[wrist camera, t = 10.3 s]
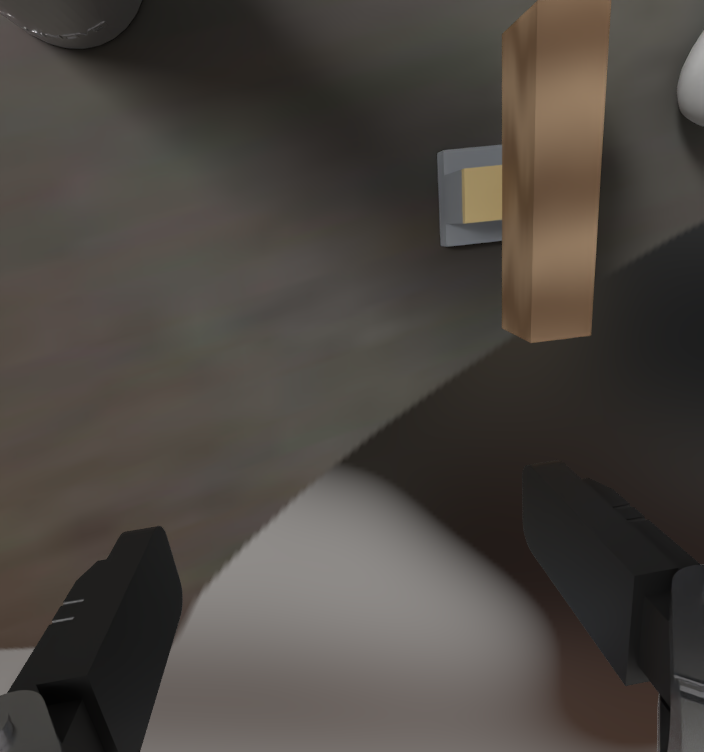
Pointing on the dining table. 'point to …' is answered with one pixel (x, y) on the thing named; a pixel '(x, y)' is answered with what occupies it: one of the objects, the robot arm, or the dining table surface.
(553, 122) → the walnut bar
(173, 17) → the dining table surface
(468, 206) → the ridge block
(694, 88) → the donut
